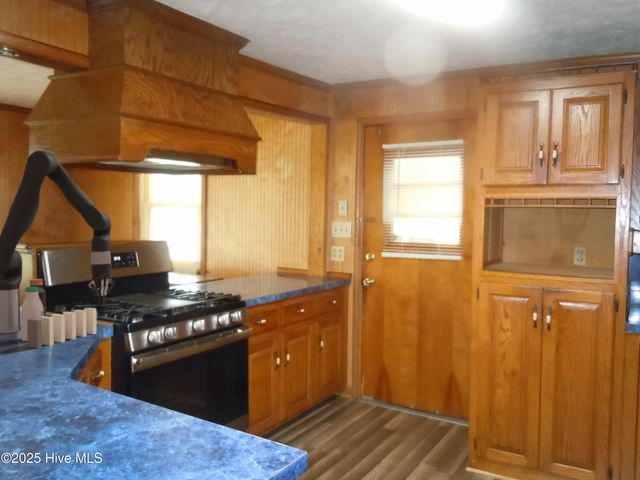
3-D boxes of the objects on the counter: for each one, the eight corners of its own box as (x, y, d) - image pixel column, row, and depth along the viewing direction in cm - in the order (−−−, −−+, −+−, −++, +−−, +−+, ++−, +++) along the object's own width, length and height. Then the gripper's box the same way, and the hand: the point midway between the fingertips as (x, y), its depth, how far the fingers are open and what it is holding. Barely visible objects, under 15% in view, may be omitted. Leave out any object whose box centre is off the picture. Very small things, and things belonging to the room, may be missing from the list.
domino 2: (49, 345, 193) (49, 318, 192) (40, 344, 195) (39, 317, 194) (53, 344, 194) (53, 317, 194) (43, 343, 196) (43, 316, 195)
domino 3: (61, 342, 197) (61, 315, 197) (51, 341, 199) (51, 314, 199) (65, 341, 199) (64, 315, 198) (55, 340, 201) (55, 313, 200)
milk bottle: (37, 342, 197) (36, 288, 196) (16, 341, 198) (15, 288, 197) (48, 337, 205) (47, 285, 204) (28, 336, 205) (27, 285, 204)
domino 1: (37, 348, 188) (37, 320, 187) (27, 347, 190) (27, 319, 189) (41, 347, 189) (41, 319, 189) (31, 346, 191) (31, 318, 191)
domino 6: (93, 334, 211) (93, 309, 210) (83, 333, 213) (83, 308, 212) (96, 333, 212) (96, 308, 212) (87, 332, 214) (86, 307, 214)
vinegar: (29, 325, 225) (28, 278, 224) (47, 324, 227) (46, 278, 226) (26, 329, 219) (25, 280, 218) (44, 328, 221) (43, 280, 220)
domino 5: (83, 336, 206) (82, 311, 206) (73, 335, 208) (73, 310, 208) (86, 336, 208) (86, 310, 207) (77, 334, 210) (76, 309, 209)
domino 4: (72, 339, 202) (72, 313, 201) (63, 338, 204) (62, 312, 203) (76, 338, 203) (75, 312, 203) (66, 337, 205) (66, 311, 205)
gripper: (106, 260, 224) (107, 301, 225) (81, 263, 212) (82, 306, 213) (120, 261, 221) (120, 302, 222) (95, 264, 209) (96, 307, 210)
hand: (101, 304), depth 217 cm, fingers closed
